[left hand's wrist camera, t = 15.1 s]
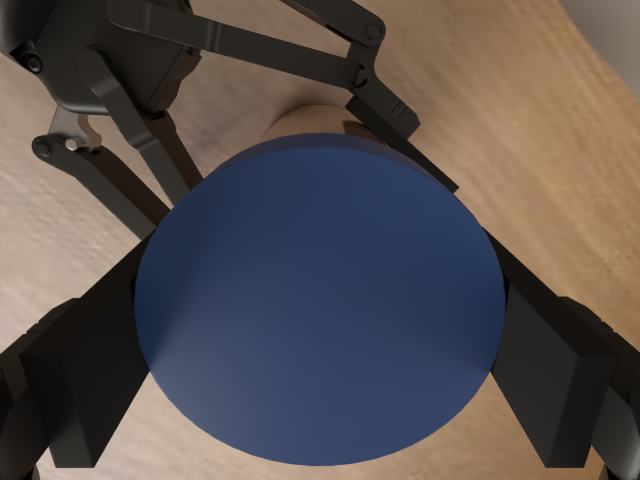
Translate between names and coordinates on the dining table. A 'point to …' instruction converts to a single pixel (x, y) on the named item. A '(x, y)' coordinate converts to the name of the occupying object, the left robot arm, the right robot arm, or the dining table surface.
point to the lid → (319, 302)
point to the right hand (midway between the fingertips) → (385, 248)
